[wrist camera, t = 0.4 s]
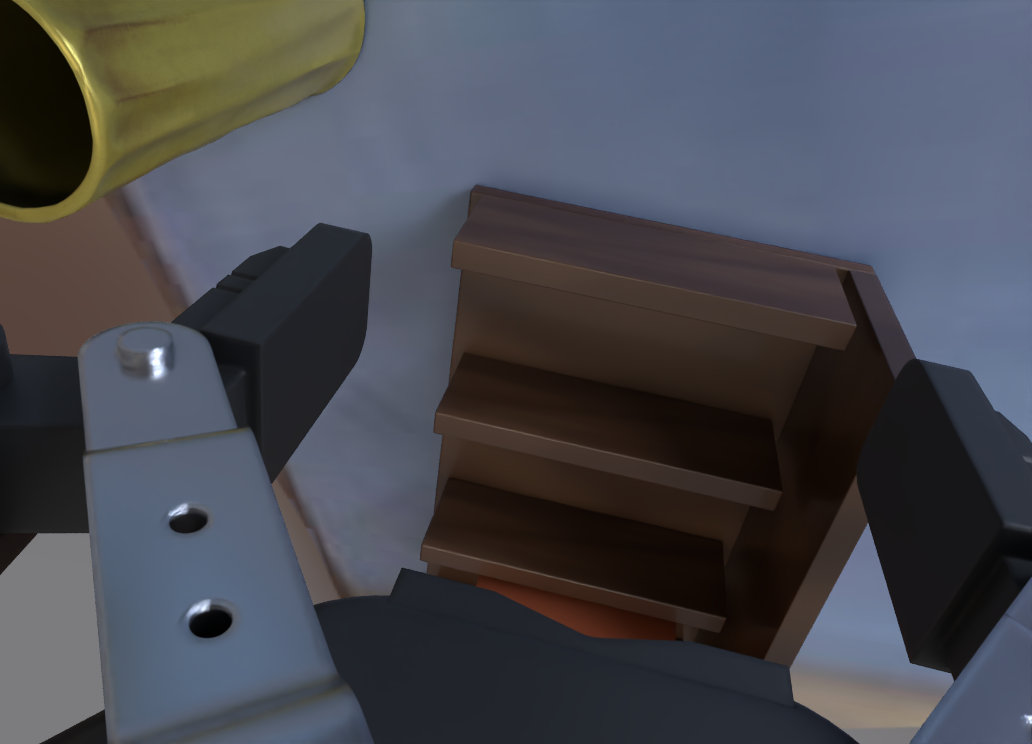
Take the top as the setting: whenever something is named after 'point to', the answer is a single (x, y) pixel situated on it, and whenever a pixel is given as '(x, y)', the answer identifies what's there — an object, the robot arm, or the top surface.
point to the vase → (148, 85)
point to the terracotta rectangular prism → (584, 613)
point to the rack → (657, 418)
